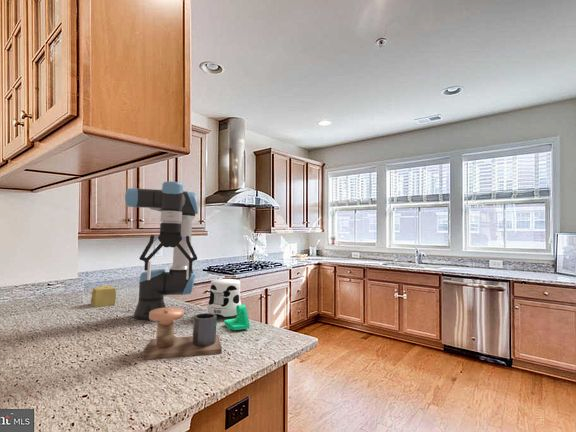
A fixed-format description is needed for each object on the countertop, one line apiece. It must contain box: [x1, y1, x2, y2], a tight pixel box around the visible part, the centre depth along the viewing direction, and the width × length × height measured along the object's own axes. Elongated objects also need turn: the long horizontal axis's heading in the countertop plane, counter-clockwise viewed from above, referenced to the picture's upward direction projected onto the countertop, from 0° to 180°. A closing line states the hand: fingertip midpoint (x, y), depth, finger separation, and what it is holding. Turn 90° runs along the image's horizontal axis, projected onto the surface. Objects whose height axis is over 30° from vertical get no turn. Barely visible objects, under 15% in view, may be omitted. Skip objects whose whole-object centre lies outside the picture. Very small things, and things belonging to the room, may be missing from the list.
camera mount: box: [224, 304, 250, 331], centre depth 144 cm, size 12×8×10 cm, turn 32°
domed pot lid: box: [149, 306, 185, 325], centre depth 116 cm, size 12×12×5 cm
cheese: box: [90, 285, 117, 308], centre depth 178 cm, size 10×11×10 cm
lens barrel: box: [192, 312, 218, 347], centre depth 120 cm, size 8×8×10 cm
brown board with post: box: [143, 321, 223, 360], centre depth 118 cm, size 26×16×10 cm, turn 107°
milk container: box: [207, 278, 242, 319], centre depth 163 cm, size 17×17×18 cm
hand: (168, 279), depth 117 cm, fingers open, 13 cm apart
